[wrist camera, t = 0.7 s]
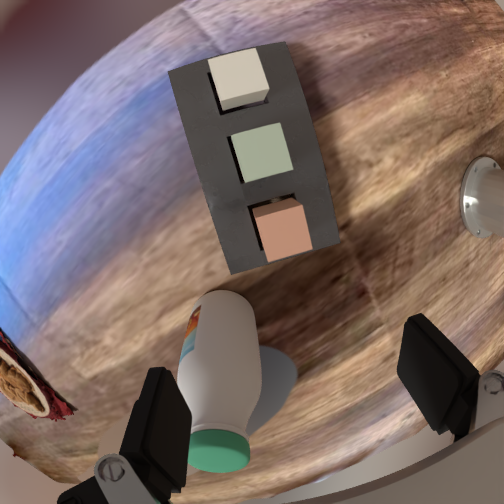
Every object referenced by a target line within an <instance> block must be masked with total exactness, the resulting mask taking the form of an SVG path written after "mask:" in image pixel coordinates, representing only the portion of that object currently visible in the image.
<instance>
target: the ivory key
mask: <svg viewBox="0 0 504 504" xmlns="http://www.w3.org/2000/svg"><path fill="white" fill-rule="evenodd" d="M208 63H209V66H210V70H211V73H212V77H213V80H214V83H215V86H216V90H217V93H218V96H219V99H220V103H221V106H222V109H223V110H227V109H230V108H234V107H238V106H242V105H245V104H249V103H253V102H257V101H262V100H264V99H265V97H266V95H267V93H268V91H269V86H268V83H267V80H266V77H265V74H264V71H263V68H262V65H261V62H260V59H259V56H258V53H257V51H256V48H253V49H248V50H243V51H239V52H235V53H230V54H226V55H223V56H219V57H215V58H212V59H208Z"/></svg>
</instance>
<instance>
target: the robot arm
mask: <svg viewBox="0 0 504 504" xmlns="http://www.w3.org/2000/svg"><path fill="white" fill-rule="evenodd" d="M460 207H461V214H462V218H463V222H464V224H465V226H466V228H467V230H468V231H469V232H470V233H471V234H472V235H474V236H476V237H478V238H486V237H488V236H490V235H491V234H493V233H494V234H496V235H499V236H501V237H503V238H504V170H501V168H500V166H499V165H498V164H497V162H496V161H495V160H493V159H492V158H489V157H478V158H476V159H475V160H473V161H472V162H471V163H470V165H469V167H468V168H467V170H466V172H465V175H464V178H463V181H462V186H461V194H460ZM397 374H398V376H399V378H400V380H401V381H402V383H403V384H404V386H405V387H406V389H407V390H408V392H409V393H410V395H411V397H412V398H413V400H414V401H415V403H416V404H417V406H418V408H419V409H420V411H421V412H422V414H423V416H424V417H425V419H426V421H427V422H428V424H429V425H430V427H431V429H432V430H433V431H435V430H436V431H437V433H438V434H439V435H440V434H442V433H444V432H446V431H448V430H450V431H451V433H452V436H451V440H450V445H449V446H448V447H446V448H444V449H442V450H441V451H439V452H437V453H435V454H433V455H432V456H429V457H427V458H425V459H423V460H421V461H419V462H417V463H415V464H413V465H411V466H408V467H406V468H404V469H402V470H399V471H397V472H395V473H392V474H390V475H387V476H384V477H382V478H379V479H377V480H374V481H371V482H368V483H365V484H362V485H359V486H356V487H353V488H350V489H346V490H343V491H339V492H336V493H332V494H328V495H324V496H320V497H315V498H311V499H306V500H301V501H296V502H290V503H284V504H504V373H502V372H500V371H497V370H489V371H486V372H484V373H483V374H482V375H480V374H479V371H478V370H477V369H476V368H475V367H474V366H473V364H472V363H471V362H470V361H469V360H468V359H467V358H466V357H465V356H464V355H463V354H462V353H461V352H460V351H459V350H458V349H457V348H456V346H455V345H454V344H453V343H452V342H451V341H450V340H449V339H448V338H447V337H446V336H445V335H444V334H443V333H442V332H441V331H440V330H439V329H438V328H437V327H436V326H435V325H434V324H433V323H432V322H431V321H430V320H429V319H427V318H426V317H425V316H424V315H423V314H422V313H419V314H416V315H414V316H411V317H409V318H408V319H407V322H405V324H404V331H403V337H402V343H401V349H400V355H399V360H398V365H397ZM191 427H192V413H191V411H190V409H189V407H188V405H187V403H186V401H185V399H184V397H183V395H182V393H181V391H180V389H179V387H178V385H177V384H176V381H175V379H174V377H173V375H172V373H171V371H170V370H166V368H165V367H153V368H149V370H148V373H147V376H146V379H145V382H144V385H143V388H142V391H141V394H140V397H139V400H137V401H136V402H135V404H134V406H133V409H132V413H131V416H130V419H129V422H128V425H127V428H126V431H125V435H124V438H123V441H122V445H121V448H120V451H119V454H108V455H105V456H103V457H101V458H100V459H99V460H98V461H97V462H96V465H95V467H94V474H95V476H93V477H91V478H89V479H87V480H86V481H84V482H82V483H80V484H78V485H76V486H74V487H72V488H70V489H69V490H67V491H65V492H63V493H62V494H61V495H60V496H59V498H58V500H57V504H173V503H172V502H171V501H170V498H171V493H181V487H184V486H185V484H186V474H187V464H188V454H189V445H190V436H191Z"/></svg>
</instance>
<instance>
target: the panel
mask: <svg viewBox="0 0 504 504" xmlns="http://www.w3.org/2000/svg"><path fill="white" fill-rule="evenodd" d="M253 48H256V51H257V53H258V56H259V59H260V62H261V65H262V68H263V71H264V74H265V77H266V80H267V83H268V86H269V91H268V93H267V95H266V97H265V99H264V103H265V104H262V105H258V106H254V107H250V108H246V109H242V110H239V111H235V112H231V113H228V114H224V115H221V116H220V114H219V110H218V107H217V104H216V100H215V97H214V94H213V91H212V87H211V84H210V81H209V80H211V79H213V77H212V73H211V70H210V66H209V63H208V59H212V58H215V57H219V56H223V55H226V54H230V53H235V52H239V51H243V50H248V49H253ZM168 74H169V78H170V82H171V85H172V89H173V92H174V96H175V99H176V103H177V106H178V110H179V113H180V116H181V120H182V123H183V127H184V130H185V133H186V137H187V140H188V143H189V147H190V150H191V153H192V156H193V160H194V163H195V166H196V169H197V173H198V176H199V179H200V182H201V185H202V188H203V192H204V195H205V198H206V201H207V204H208V207H209V210H210V213H211V216H212V219H213V222H214V226H215V229H216V232H217V235H218V238H219V241H220V244H221V247H222V250H223V253H224V256H225V258H226V261H227V264H228V267H229V270H230V273H231V275H232V274H236V273H239V272H243V271H246V270H250V269H253V268H257V267H260V266H264V265H267V264H270V263H274V262H277V261H281V260H284V259H288V258H291V257H294V256H298V255H301V254H305V253H308V252H311V251H315V250H318V249H321V248H325V247H328V246H331V245H335V244H338V243H340V238H339V232H338V227H337V222H336V217H335V212H334V207H333V202H332V198H331V193H330V189H329V184H328V180H327V176H326V171H325V167H324V163H323V159H322V155H321V152H320V148H319V144H318V140H317V137H316V133H315V130H314V126H313V123H312V119H311V116H310V112H309V109H308V106H307V103H306V99H305V96H304V93H303V90H302V87H301V84H300V81H299V78H298V75H297V72H296V69H295V66H294V64H293V61H292V58H291V55H290V53H289V50H288V47H287V45H286V42H279V43H273V44H267V45H262V46H256V47H251V48H247V49H242V50H238V51H234V52H229V53H225V54H222V55H218V56H214V57H211V58H207V59H204V60H200V61H197V62H194V63H191V64H188V65H185V66H182V67H179V68H176V69H173V70H171V71H168ZM275 123H280V124H281V127H282V131H283V134H284V138H285V141H286V145H287V148H288V152H289V155H290V159H291V163H292V166H293V170H290V171H286V172H282V173H278V174H275V175H271V176H267V177H264V178H260V179H257V180H253V181H249V182H246V183H245V181H243V182H240V180H239V177H238V173H237V170H236V166H235V163H234V160H233V156H232V153H231V150H230V147H229V143H228V140H227V139H229V138H231V135H233V134H237V133H240V132H244V131H248V130H252V129H255V128H259V127H263V126H267V125H271V124H275ZM288 194H291V198H293V199H295V200H296V201H297V202H299V203H300V204H302V205H303V209H304V214H305V218H306V222H307V226H308V231H309V235H310V239H311V244H312V250H308V251H305V252H302V253H298V254H295V255H291V256H288V257H285V258H281V259H278V260H274V261H271V262H268V260H267V257H266V254H265V251H264V247H263V244H262V243H259V244H258V241H257V237H256V234H255V231H254V227H253V224H252V220H251V217H250V214H249V210H248V207H247V206H249V205H252V204H256V203H259V202H263V201H266V200H270V199H273V198H277V197H280V196H284V195H288Z"/></svg>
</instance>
